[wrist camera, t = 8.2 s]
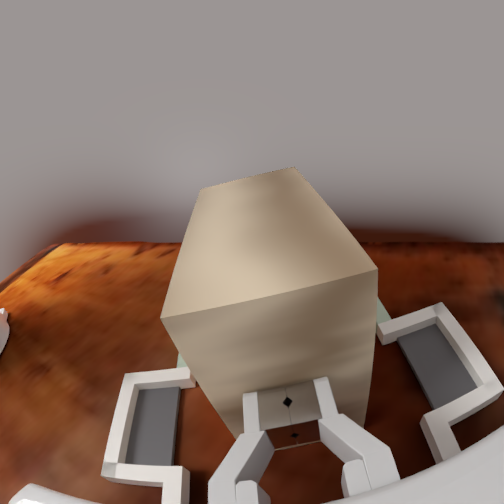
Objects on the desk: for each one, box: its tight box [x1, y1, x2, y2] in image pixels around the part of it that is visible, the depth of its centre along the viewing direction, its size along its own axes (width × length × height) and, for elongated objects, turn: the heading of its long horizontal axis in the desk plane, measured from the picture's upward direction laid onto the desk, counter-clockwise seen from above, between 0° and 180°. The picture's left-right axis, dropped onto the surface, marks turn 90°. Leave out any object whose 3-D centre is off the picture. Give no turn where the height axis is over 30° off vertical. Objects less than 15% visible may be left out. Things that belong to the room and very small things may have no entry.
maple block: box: [160, 167, 378, 450], centre depth 15 cm, size 6×12×10 cm, turn 3°
